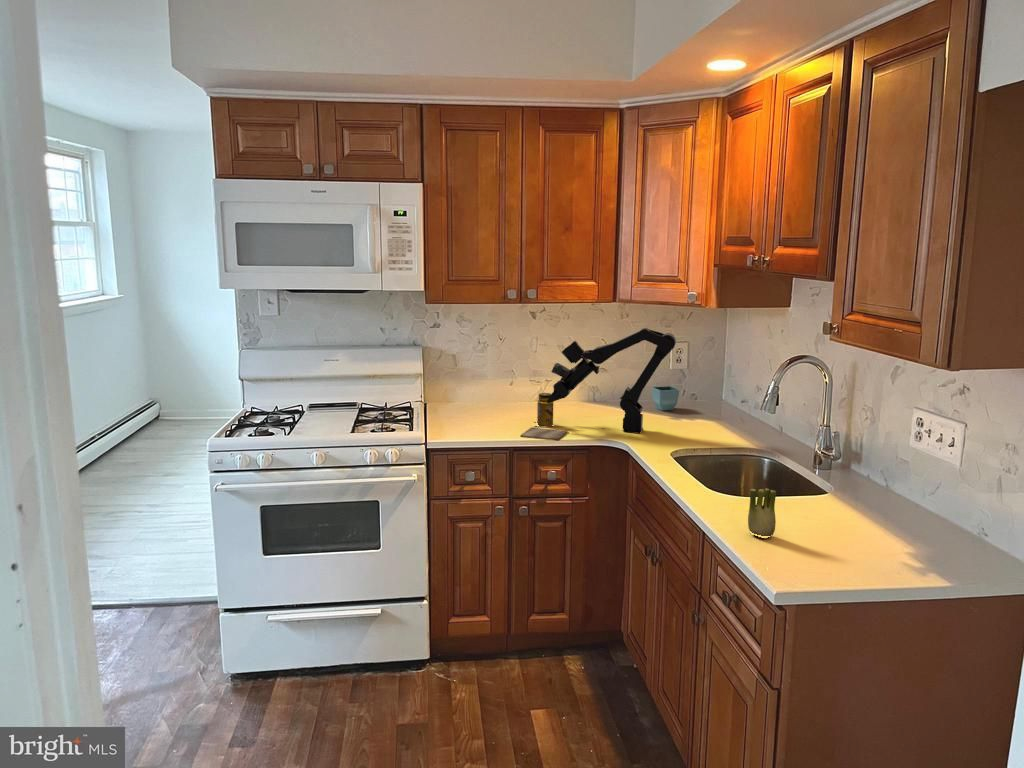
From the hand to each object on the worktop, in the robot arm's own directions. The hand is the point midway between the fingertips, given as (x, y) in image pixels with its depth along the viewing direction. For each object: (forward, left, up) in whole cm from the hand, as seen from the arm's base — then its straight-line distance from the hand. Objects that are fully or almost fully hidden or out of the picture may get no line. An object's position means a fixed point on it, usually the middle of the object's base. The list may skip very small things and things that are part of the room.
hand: (550, 399), depth 293 cm
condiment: (+3, 0, -10) cm, 10 cm away
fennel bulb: (-80, +88, -10) cm, 120 cm away
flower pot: (-36, -44, -10) cm, 58 cm away
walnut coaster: (-2, +14, -10) cm, 17 cm away
